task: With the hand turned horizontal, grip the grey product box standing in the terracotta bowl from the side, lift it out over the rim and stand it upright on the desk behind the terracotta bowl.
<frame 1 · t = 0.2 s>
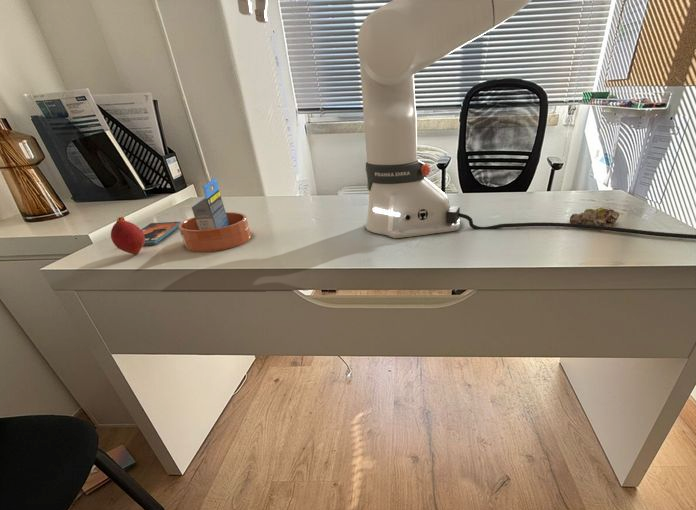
hand: (254, 18, 70), 39 cm above the table, tool pointing down, fingers open, 8 cm apart
smartphone: (154, 236, 94), on the table
onion: (136, 255, 84), on the table
mineral rock: (591, 224, 89), on the table
terracotta bowl: (219, 240, 89), on the table
grey product box: (219, 239, 89), resting on terracotta bowl
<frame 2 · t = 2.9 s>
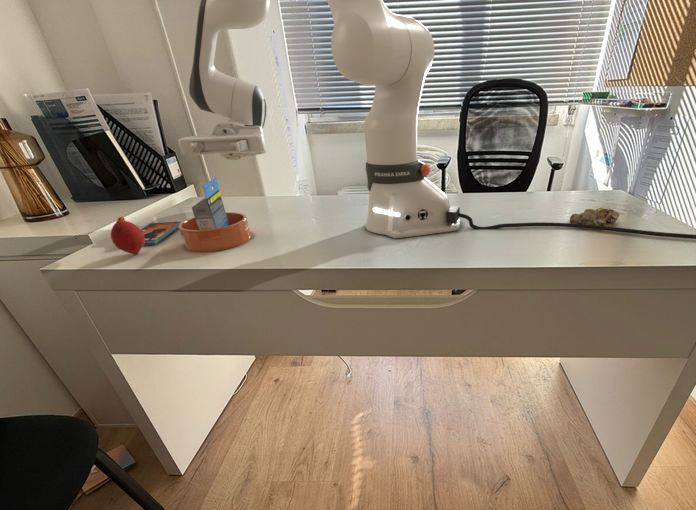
hand: (214, 148, 90), 17 cm above the table, tool horizontal, fingers open, 8 cm apart
nothing on the table moved.
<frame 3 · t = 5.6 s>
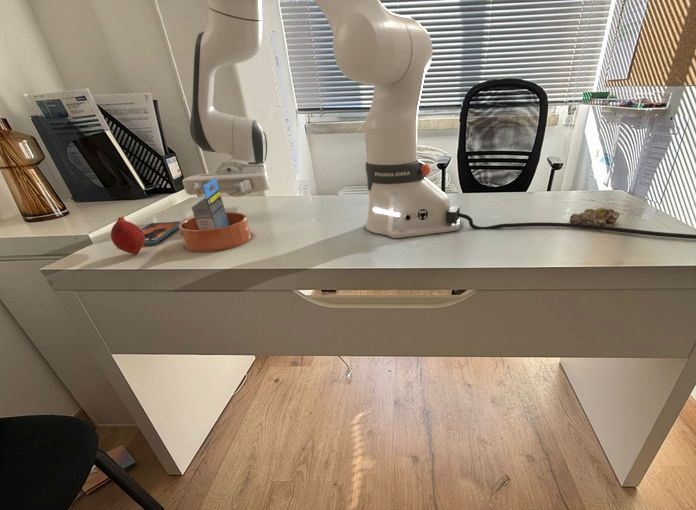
hand: (218, 189, 90), 9 cm above the table, tool horizontal, fingers open, 8 cm apart
nothing on the table moved.
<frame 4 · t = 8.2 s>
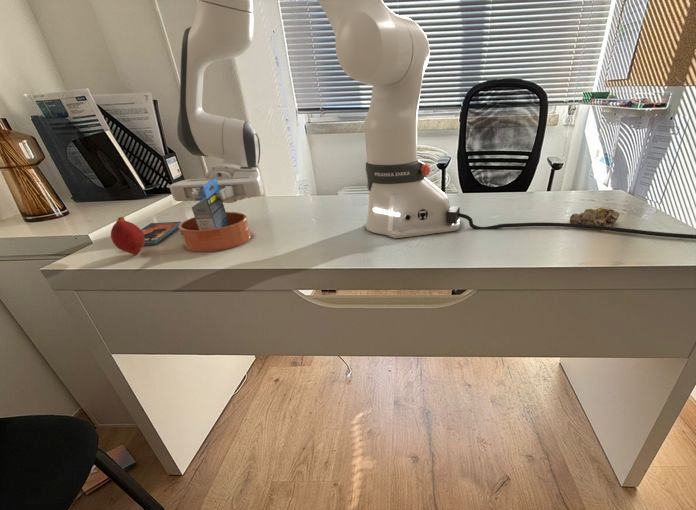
hand: (207, 196, 84), 10 cm above the table, tool horizontal, fingers closed on grey product box, 4 cm apart
grey product box: (219, 239, 89), resting on terracotta bowl, touching gripper
everything else where it was.
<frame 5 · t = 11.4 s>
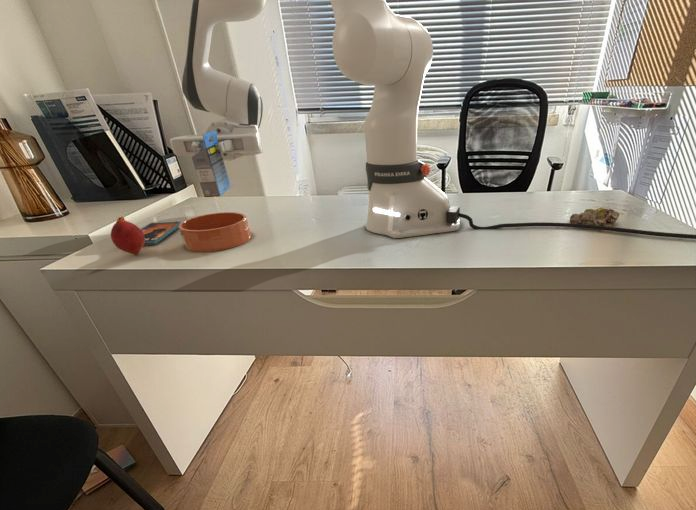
hand: (207, 148, 86), 18 cm above the table, tool horizontal, fingers closed on grey product box, 4 cm apart
grey product box: (218, 193, 91), point 9 cm above the table, touching gripper
everything else where it was.
when the fingers open (9 cm above the table, at t = 15.0 s): grey product box stays where it is, on the table.
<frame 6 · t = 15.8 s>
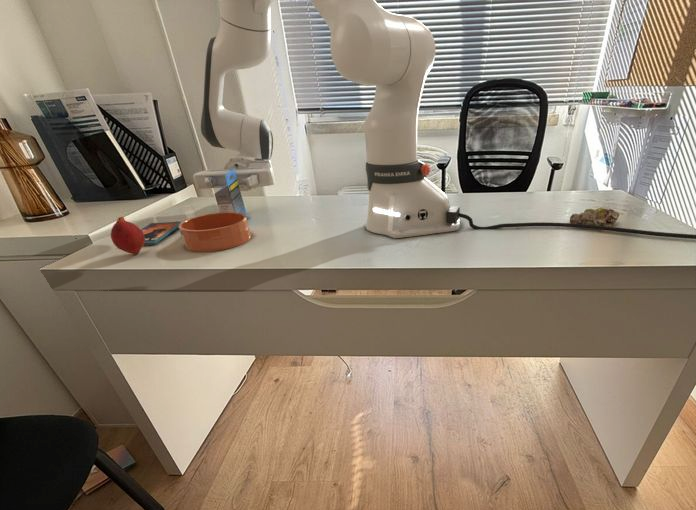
hand: (227, 183, 96), 9 cm above the table, tool horizontal, fingers open, 8 cm apart
grey product box: (236, 223, 101), on the table
everything else where it was.
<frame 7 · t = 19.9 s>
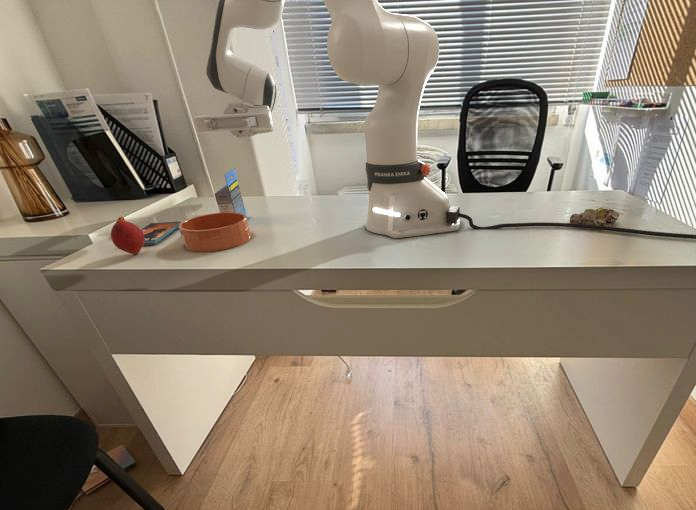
hand: (226, 124, 98), 21 cm above the table, tool horizontal, fingers open, 8 cm apart
nothing on the table moved.
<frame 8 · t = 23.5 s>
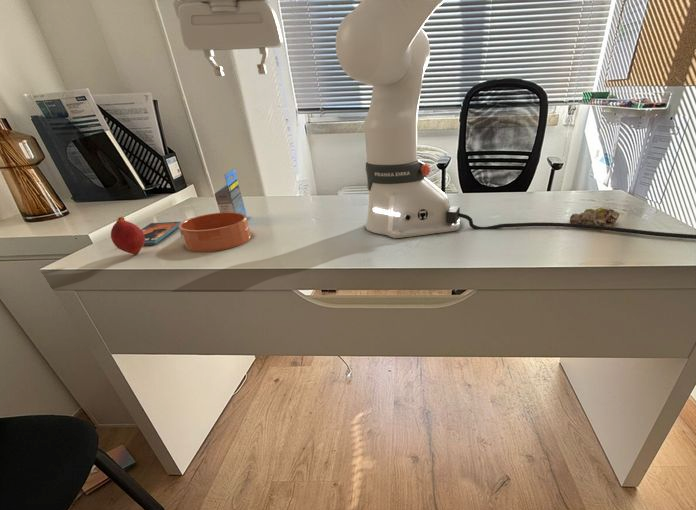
hand: (241, 75, 86), 31 cm above the table, tool pointing down, fingers open, 8 cm apart
nothing on the table moved.
at the end: grey product box inside the target area (0.4 cm from its centre), on the table; grey product box tilted 0°; the gripper is holding nothing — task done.
